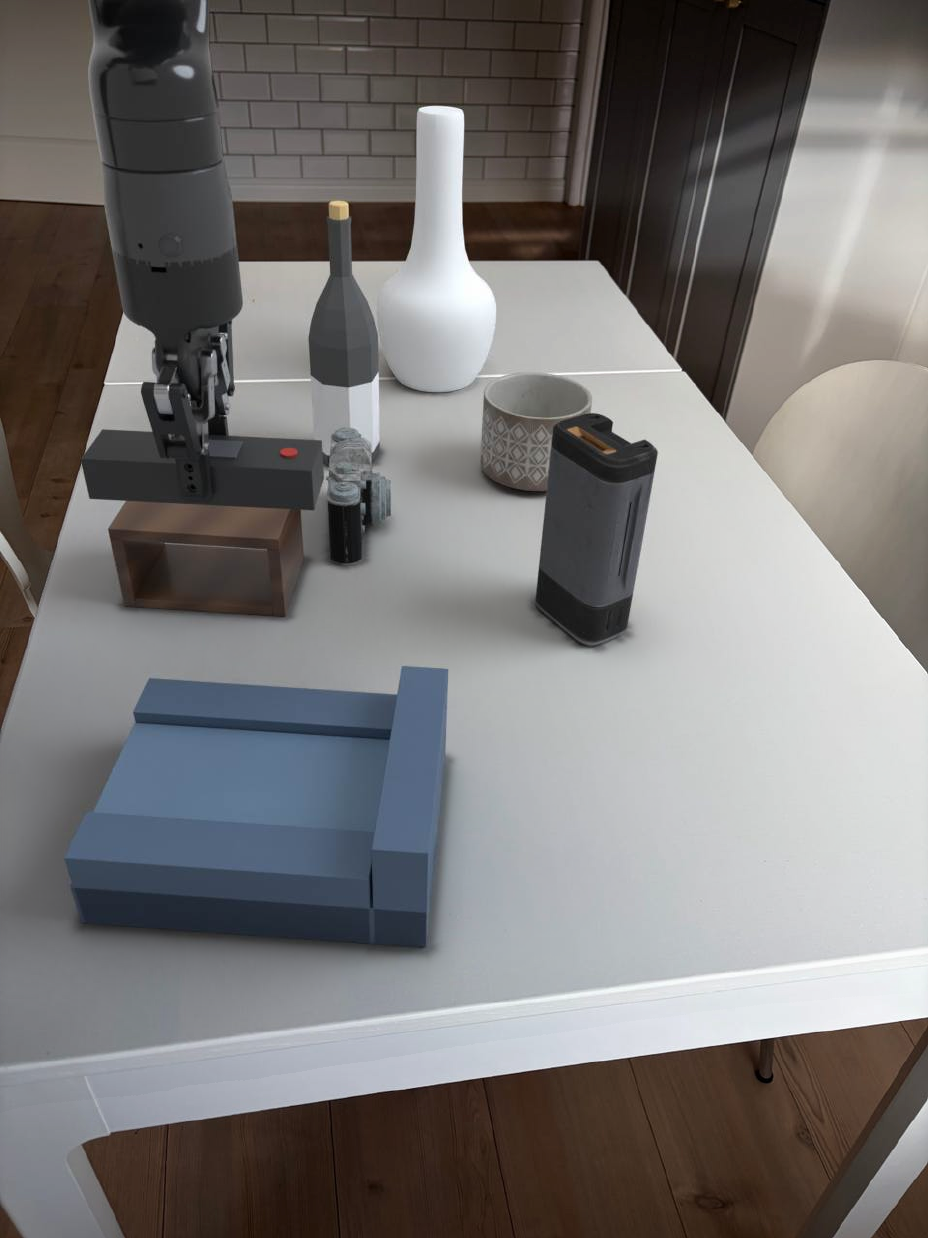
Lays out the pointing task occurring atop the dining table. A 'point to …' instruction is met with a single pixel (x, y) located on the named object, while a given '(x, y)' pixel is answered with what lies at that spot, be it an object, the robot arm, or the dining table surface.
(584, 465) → the electronic device
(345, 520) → the camera
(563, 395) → the planter
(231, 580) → the shelf
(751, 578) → the dining table surface
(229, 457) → the remote
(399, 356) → the vase
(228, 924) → the sofa
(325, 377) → the wine bottle
